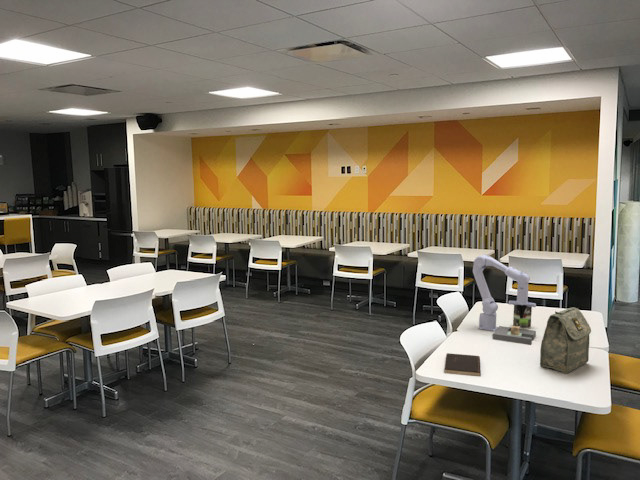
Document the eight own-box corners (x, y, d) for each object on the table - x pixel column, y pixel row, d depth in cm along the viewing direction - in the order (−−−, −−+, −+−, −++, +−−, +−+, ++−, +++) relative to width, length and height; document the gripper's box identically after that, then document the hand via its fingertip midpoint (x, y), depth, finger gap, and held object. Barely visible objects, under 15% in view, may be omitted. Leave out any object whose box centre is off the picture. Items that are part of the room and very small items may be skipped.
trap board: (492, 339, 293) (492, 333, 293) (499, 330, 309) (499, 325, 308) (530, 344, 283) (530, 339, 283) (535, 335, 299) (535, 330, 298)
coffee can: (532, 329, 312) (533, 306, 310) (514, 328, 313) (515, 305, 312) (528, 324, 322) (529, 302, 320) (511, 324, 323) (512, 301, 322)
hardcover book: (444, 373, 243) (444, 369, 243) (446, 357, 265) (446, 353, 265) (480, 377, 239) (480, 372, 238) (479, 360, 261) (479, 355, 260)
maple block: (510, 334, 292) (510, 327, 292) (512, 332, 295) (512, 325, 295) (518, 335, 290) (518, 328, 290) (519, 333, 293) (519, 326, 293)
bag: (571, 375, 239) (574, 316, 236) (537, 366, 251) (539, 310, 248) (591, 364, 254) (595, 308, 251) (558, 355, 266) (561, 302, 263)
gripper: (507, 294, 300) (506, 317, 302) (535, 297, 293) (533, 321, 295) (510, 292, 306) (509, 315, 308) (536, 295, 299) (535, 318, 301)
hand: (521, 317), depth 302 cm, fingers closed
